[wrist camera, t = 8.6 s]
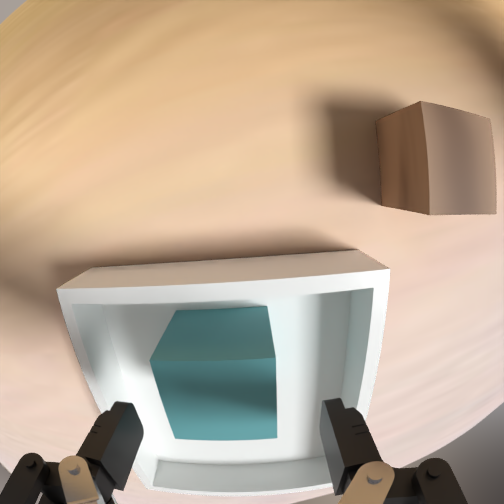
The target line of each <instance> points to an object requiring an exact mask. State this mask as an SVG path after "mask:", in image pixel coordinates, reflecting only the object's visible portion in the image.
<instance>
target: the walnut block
mask: <svg viewBox="0 0 504 504" xmlns="http://www.w3.org/2000/svg"><path fill="white" fill-rule="evenodd" d="M376 130H377V139H378V150H379V162H380V178H381V203H382V206H385V207H391V208H396V209H401V210H407V211H412V212H417V213H422V214H427V215H463V214H496V168H495V155H494V144H493V136H492V129H491V122H490V119H489V118H486V117H482V116H479V115H476V114H472V113H469V112H465V111H462V110H458V109H454V108H450V107H446V106H442V105H437V104H433V103H428V102H423V101H419V102H417V103H415V104H412V105H410V106H408V107H405V108H403V109H401V110H399V111H396V112H394V113H392V114H390V115H388V116H385V117H383V118H381V119H379V120H377V121H376Z"/></svg>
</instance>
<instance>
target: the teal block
mask: <svg viewBox="0 0 504 504" xmlns="http://www.w3.org/2000/svg"><path fill="white" fill-rule="evenodd" d="M149 361H150V365H151V368H152V372H153V375H154V378H155V382H156V385H157V388H158V391H159V395H160V398H161V401H162V404H163V407H164V410H165V413H166V416H167V418H168V421H169V424H170V427H171V429H172V432H173V435H174V437H175V439H186V440H211V441H234V440H260V439H274V438H277V381H276V355H275V349H274V343H273V337H272V331H271V325H270V319H269V313H268V307H267V306H260V307H244V308H226V309H203V310H176V311H175V313H174V315H173V317H172V319H171V320H170V322H169V324H168V326H167V328H166V330H165V332H164V333H163V335H162V337H161V339H160V341H159V343H158V345H157V347H156V348H155V350H154V352H153V354H152V356H151V358H150V360H149Z"/></svg>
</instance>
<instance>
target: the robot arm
mask: <svg viewBox="0 0 504 504" xmlns="http://www.w3.org/2000/svg"><path fill="white" fill-rule="evenodd" d="M319 429H320V436H321V440H322V444H323V448H324V452H325V456H326V460H327V464H328V468H329V472H330V476H331V481H332V485H333V489H334V493H335V495H341V494H343V496H342V498H341V500H340V501H339V503H338V504H468V503H467V501H466V499H465V497H464V495H463V492H462V490H461V488H460V486H459V484H458V482H457V480H456V478H455V476H454V474H453V471H452V469H451V467H450V466H449V464H448V463H447V462H446V461H445V460H443V459H440V458H431V459H427V460H425V461H424V462H422V463H421V464H420V465H419V467H416V468H394V467H391V466H390V465H388V464H387V463H384V462H383V460H382V459H381V457H380V455H379V452H378V450H377V447H376V445H375V443H374V441H373V438H372V436H371V434H370V432H369V429H368V427H367V425H366V422H365V420H364V418H363V415H362V414H361V413H360V412H359V411H358V410H356V409H355V408H354V407H351V408H346V409H345V407H344V404H343V402H342V399H341V398H335V399H328V400H323V401H322V405H321V414H320V424H319ZM143 435H144V429H143V425H142V423H141V420H140V418H139V416H138V413H137V411H136V409H135V406H134V405H133V403H129V402H121V401H116V402H114V404H113V406H112V407H111V409H110V411H109V410H106V411H105V412H103V413H102V414H101V415H100V416H98V418H97V420H96V421H95V423H94V426H92V428H91V430H90V432H89V433H88V435H87V437H86V439H85V440H84V442H83V444H82V446H81V447H80V449H79V451H78V453H77V454H76V456H68V457H66V458H64V459H63V460H62V461H61V462H60V463H57V462H45V461H44V460H43V459H42V457H41V456H40V455H38V454H36V453H28V454H25V455H24V456H23V457H22V458H21V459H20V461H19V462H18V464H17V466H16V467H15V469H14V471H13V473H12V474H11V476H10V478H9V480H8V482H7V483H6V485H5V487H4V489H3V491H2V492H1V494H0V504H35V503H36V501H37V498H38V496H39V494H40V492H42V493H43V495H42V497H41V499H40V501H39V504H117V502H116V500H115V498H114V496H113V494H112V493H113V490H114V489H118V490H122V491H123V490H124V487H125V485H126V482H127V479H128V476H129V474H130V471H131V468H132V466H133V463H134V460H135V457H136V455H137V452H138V450H139V447H140V444H141V442H142V439H143Z"/></svg>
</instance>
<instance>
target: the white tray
mask: <svg viewBox="0 0 504 504" xmlns="http://www.w3.org/2000/svg"><path fill="white" fill-rule="evenodd" d="M389 279H390V268H388V267H386V266H385V265H383V264H381V263H380V262H378V261H377V260H375V259H373V258H372V257H370V256H368V255H367V254H365V253H363V252H362V251H360V250H349V251H335V252H321V253H307V254H293V255H279V256H264V257H249V258H234V259H219V260H204V261H189V262H173V263H158V264H142V265H126V266H109V267H93V268H90V269H88V270H87V271H85V272H83V273H82V274H80V275H78V276H77V277H75V278H73V279H71V280H70V281H68V282H66V283H65V284H63V285H62V286H60V287H58V288H57V289H56V290H57V294H58V298H59V302H60V306H61V309H62V313H63V316H64V320H65V323H66V326H67V329H68V333H69V336H70V339H71V342H72V344H73V347H74V350H75V353H76V356H77V358H78V361H79V364H80V366H81V369H82V371H83V374H84V376H85V379H86V381H87V383H88V386H89V388H90V390H91V393H92V395H93V397H94V399H95V401H96V403H97V406H98V408H99V410H100V412H101V414H102V413H103V412H105V411H106V410H109V411H110V409H111V407H112V406H113V404H114V402H116V401H121V402H129V403H133V405H134V406H135V409H136V411H137V413H138V416H139V418H140V420H141V423H142V425H143V429H144V435H143V439H142V442H141V444H140V447H139V450H138V452H137V455H136V457H135V460H134V463H133V466H132V468H133V470H134V471H135V473H136V474H137V476H138V477H139V479H140V480H141V482H142V483H143V484H144V486H145V487H146V489H150V490H157V491H164V492H171V493H180V494H191V495H205V496H261V495H275V494H286V493H295V492H303V491H310V490H316V489H322V488H327V487H333V485H332V481H331V476H330V472H329V468H328V464H327V460H326V456H325V452H324V448H323V444H322V440H321V436H320V429H319V424H320V414H321V405H322V401H323V400H328V399H335V398H341V399H342V402H343V404H344V407H345V409H346V408H351V407H354V408H355V409H356V410H358V411H359V412H360V413H361V414H362V415H363V418H364V420H365V421H366V417H367V413H368V409H369V405H370V401H371V397H372V393H373V388H374V384H375V379H376V374H377V369H378V363H379V358H380V352H381V346H382V340H383V333H384V326H385V318H386V310H387V301H388V291H389ZM260 306H267V307H268V313H269V319H270V325H271V331H272V337H273V343H274V349H275V355H276V381H277V438H274V439H260V440H234V441H211V440H186V439H175V437H174V435H173V432H172V429H171V427H170V424H169V421H168V418H167V416H166V413H165V410H164V407H163V404H162V401H161V398H160V395H159V391H158V388H157V385H156V382H155V378H154V375H153V372H152V368H151V365H150V361H149V360H150V358H151V356H152V354H153V352H154V350H155V348H156V347H157V345H158V343H159V341H160V339H161V337H162V335H163V333H164V332H165V330H166V328H167V326H168V324H169V322H170V320H171V319H172V317H173V315H174V313H175V311H176V310H203V309H226V308H244V307H260Z"/></svg>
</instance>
